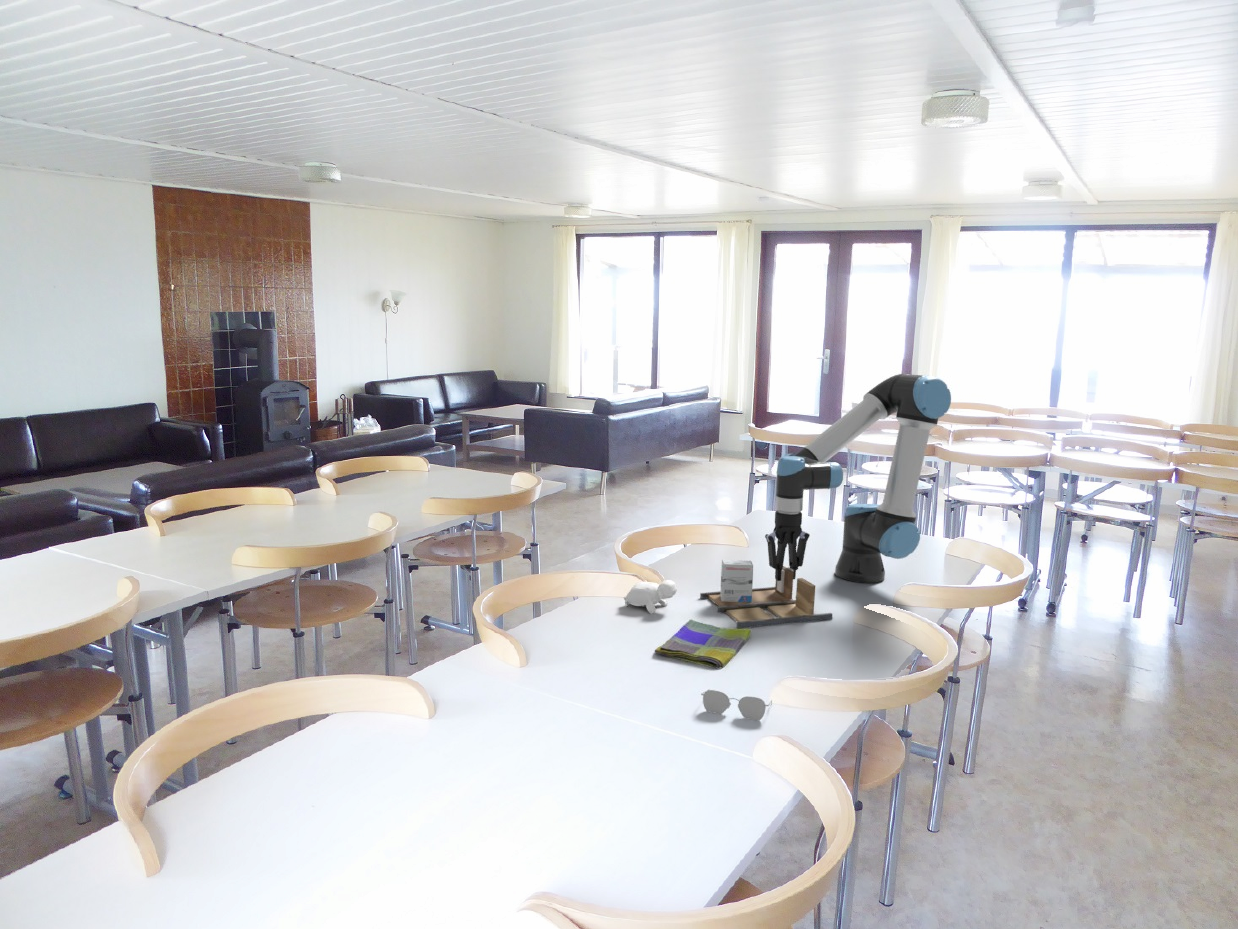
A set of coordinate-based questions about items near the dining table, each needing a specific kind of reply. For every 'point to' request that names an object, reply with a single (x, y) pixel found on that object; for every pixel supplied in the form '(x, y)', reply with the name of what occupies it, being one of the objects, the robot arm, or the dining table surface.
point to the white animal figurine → (651, 594)
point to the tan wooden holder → (764, 593)
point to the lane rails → (764, 606)
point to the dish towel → (705, 644)
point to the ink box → (736, 581)
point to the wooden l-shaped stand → (782, 606)
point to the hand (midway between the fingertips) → (784, 590)
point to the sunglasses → (721, 702)
